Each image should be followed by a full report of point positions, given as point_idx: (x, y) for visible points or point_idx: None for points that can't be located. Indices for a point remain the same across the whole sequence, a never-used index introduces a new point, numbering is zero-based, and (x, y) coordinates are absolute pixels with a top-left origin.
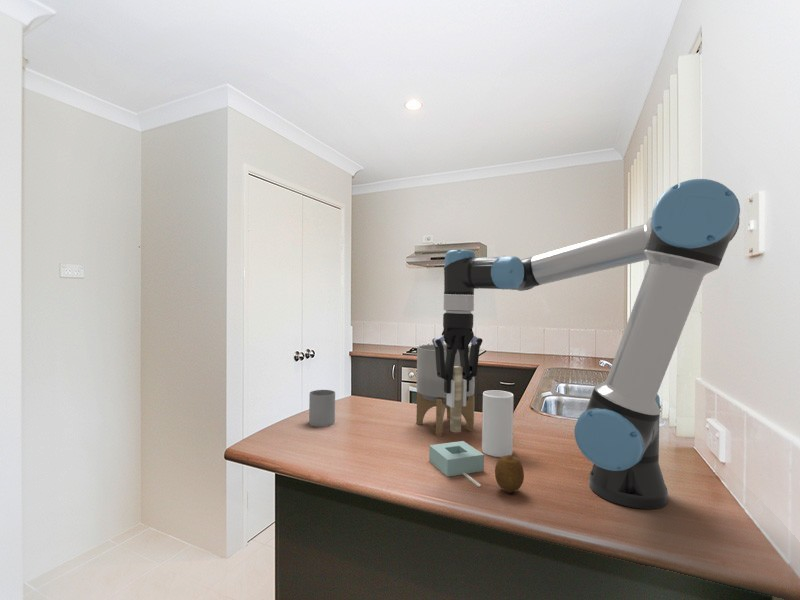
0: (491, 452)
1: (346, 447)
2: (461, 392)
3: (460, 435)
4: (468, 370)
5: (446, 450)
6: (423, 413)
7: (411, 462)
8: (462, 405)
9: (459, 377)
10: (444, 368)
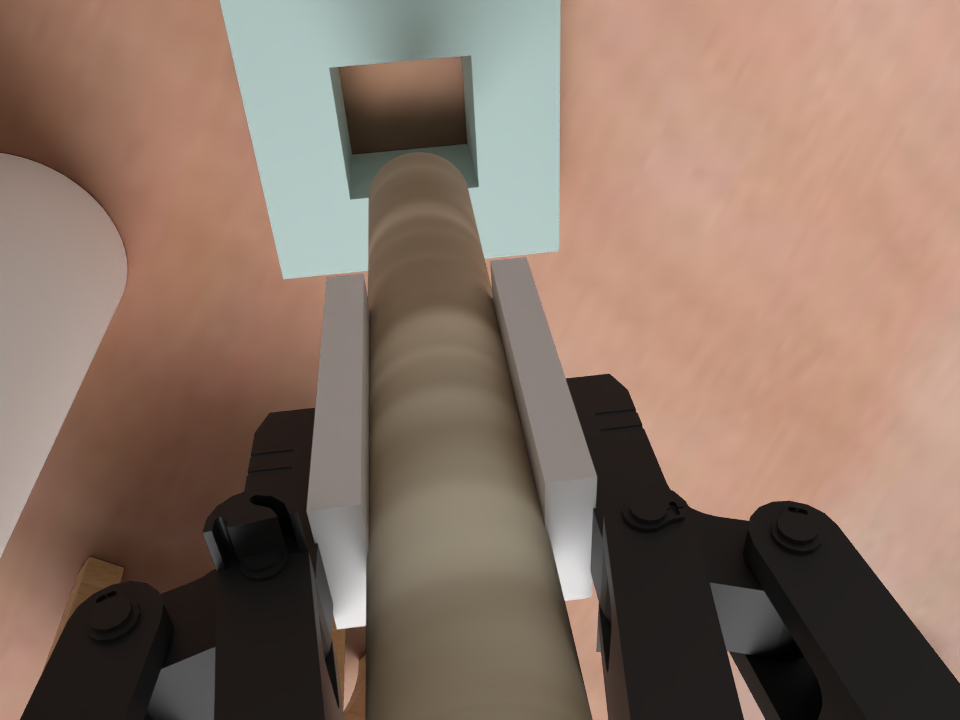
0: (76, 199)
1: (872, 445)
2: (394, 383)
3: (196, 505)
4: (248, 679)
5: (485, 133)
6: (364, 702)
7: (653, 204)
8: (366, 298)
9: (457, 541)
10: (850, 665)
